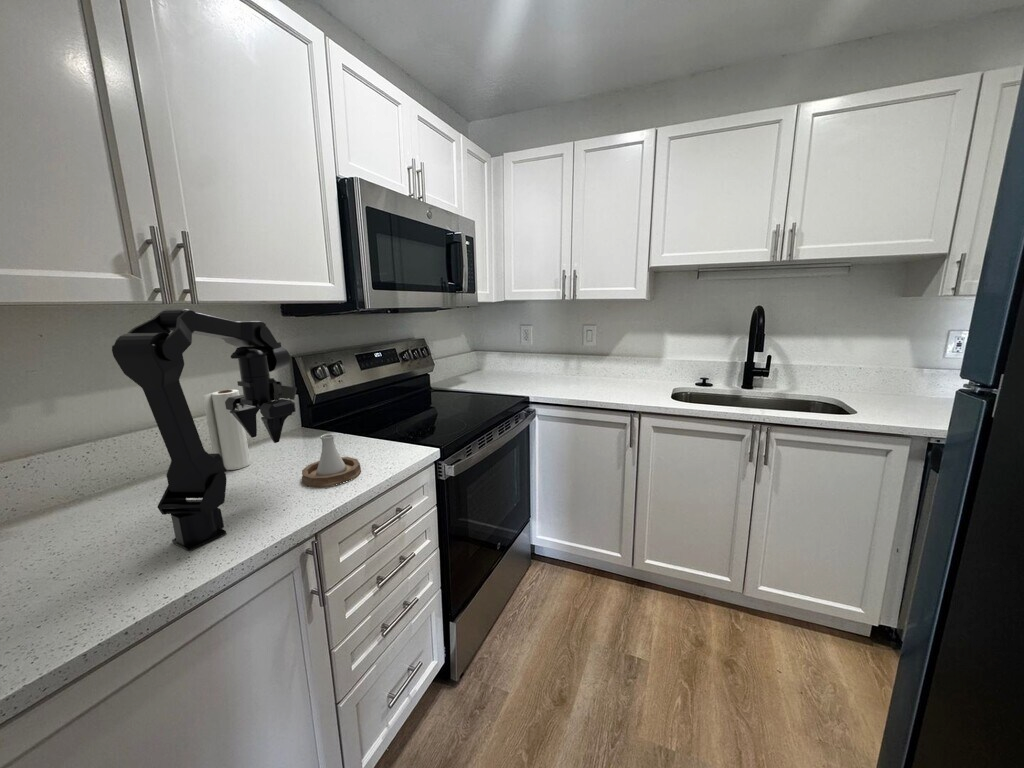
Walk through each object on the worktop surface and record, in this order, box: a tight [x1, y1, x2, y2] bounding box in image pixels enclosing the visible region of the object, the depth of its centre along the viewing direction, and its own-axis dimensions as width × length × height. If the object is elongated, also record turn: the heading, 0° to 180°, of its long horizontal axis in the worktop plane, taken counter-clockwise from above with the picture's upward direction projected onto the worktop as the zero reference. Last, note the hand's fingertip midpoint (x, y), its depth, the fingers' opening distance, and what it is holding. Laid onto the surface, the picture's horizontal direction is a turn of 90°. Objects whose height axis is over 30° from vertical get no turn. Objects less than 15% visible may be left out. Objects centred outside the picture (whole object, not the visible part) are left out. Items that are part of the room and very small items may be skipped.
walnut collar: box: [301, 456, 362, 488], centre depth 105 cm, size 14×14×2 cm
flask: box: [316, 433, 347, 476], centre depth 104 cm, size 7×7×10 cm
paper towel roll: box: [202, 389, 251, 471], centre depth 110 cm, size 7×6×21 cm
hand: (265, 439), depth 97 cm, fingers open, 9 cm apart
